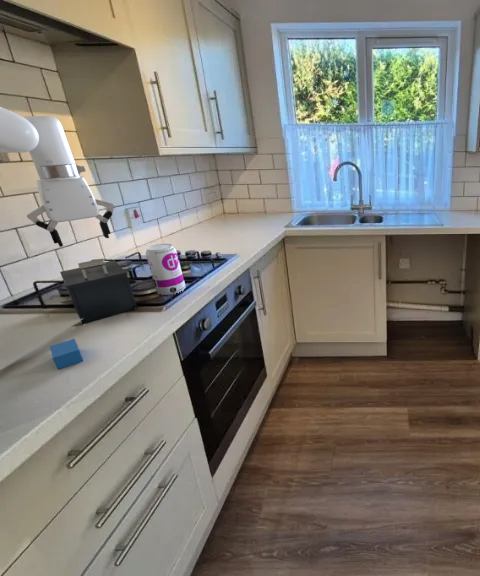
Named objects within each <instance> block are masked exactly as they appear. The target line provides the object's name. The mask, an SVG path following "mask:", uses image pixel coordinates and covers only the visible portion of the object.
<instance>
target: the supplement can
mask: <svg viewBox="0 0 480 576" xmlns="http://www.w3.org/2000/svg"><path fill="white" fill-rule="evenodd" d="M145 257H146V261H147V263H148V267H149V270H150V273H151V277H152V281H153V284H154V287H155V290H156V293H157V294H159V295H160V294H161V295H160V296H163V295H168V296H174V295H177V294H176V293H178V294H180V293H182V292H184V290H185V289H186V287H187V286H186V283H185V279H184V276H183V271H182V268H181V264H180V259H179V256H178V251H177V249H176V248H175V246H174V245H173V244H172V243H159V244H158V243H157V244H154V245H150V246H148V247H146V251H145ZM181 291H182V292H181ZM179 292H180V293H179ZM173 294H174V295H173Z"/></svg>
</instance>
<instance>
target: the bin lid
mask: <svg viewBox="0 0 480 576" xmlns="http://www.w3.org/2000/svg"><path fill="white" fill-rule="evenodd" d="M77 266H78V267H77V268H72V269H66V270H61V271H59V273H60V275H61V278H62V281H63V280H64V281H63V283H64V282H65V283H64V285H65V284H66V286H67V288H68V289H69V288H74V287H78V286H82V285H86V284H91V283H95V282H99V281H104V280H108V279H112V278H116V277H121V276H125V275H127V276H128V272H127V271H126V270H125V269H124V268H123V267H122V266H121V265H120V264H119V263H118V262H117V261H116V260H110V261H105V259H104V258H98V259H94V260H87V261H83V262H78V263H77ZM66 286H65V287H66ZM67 288H66V289H67Z"/></svg>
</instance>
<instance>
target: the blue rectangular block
mask: <svg viewBox="0 0 480 576" xmlns="http://www.w3.org/2000/svg"><path fill="white" fill-rule="evenodd" d="M49 350H50V353H51V358H52V360H53V362H54V364H55V366H56V368H57V370H60V369H63V368H67V367H69V366H72V365H73V366H74V365H75V364H79V363H81V362H84V358H83V356H82V354H81V351H80V348H79V346H78V344H77V341H76V339H75V338H72V339H67V340H65V341H61V342H58V343H55V344H52V345H49Z"/></svg>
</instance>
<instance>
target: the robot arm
mask: <svg viewBox="0 0 480 576" xmlns="http://www.w3.org/2000/svg"><path fill="white" fill-rule="evenodd" d="M27 152H29V155H30V157H31V160H32V163H33V165H34V167H35V170H36V173H37V174H38V177H39V179H38V180H36V187H37V191H38V194H39V197H40V201H41V205H40V206H38V207H37V208H35V209H33V210H32V211H30V212H29V213H27V214H26V218H28V219H29V220H30V221H31V222H32V223H34V224H35V225H36V227H39V228H42V229H44V230H46V231H48V232H49V234H50V237H51V239H52V241H53V244H55V245H56V244H58V246H59V248H60V247H61V248H62V247H63V246H64V244H63V241H62V238H61V236H60V233H59V232H58V230H57V228H56V227H57V226H58V223H65V222H73V221H79V220H85V219H86V220H87V219H91V218H95V219H97V220H98V221H99V223H98V224H99V226H100V229H101V230H100V231H101V233H102V235H103V237H104V238H105V239H110V235H111V230H110V227H109V224H108V222H109V220H110V219H111V217H112V216H113V213H114V209H115V204H114V203H112V202H108V201H103V200H100V199H98V198H95V197H94V194H93V192H92V189H91V188H90V185H89V183H88V182H87V180H86V178H85V177H84V176H81V173H83V172H86V168H85V166H84V165H78V164H76V160H75V159H74V156H73V152H72V149H71V146H70V144H69V140H68V138H67V136H66V133H65V130H64V127H63V125H62V123H61V121H60V120H59V119H58V118H57V117H55V116H50V115H47V116H46V115H29V116H26V115H25V116H22V115H20V114H18V113H16V112H15V111H11V110H9V109H7V108H5V107H2V106H0V154H11V153H17V154H19V153H27ZM99 206H100V207H105V208H106V211H105V212H104V213H103V215H102V214H100V209H99ZM44 213H45V214H46V216H47V218H48V219H49V221H48V223H47V222H44V221H42V220H40V218H38V217H39V216H40V215H42V214H44Z"/></svg>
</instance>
